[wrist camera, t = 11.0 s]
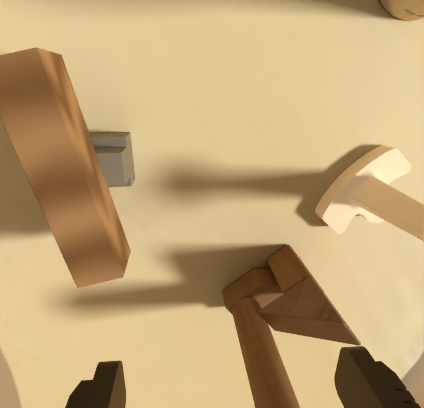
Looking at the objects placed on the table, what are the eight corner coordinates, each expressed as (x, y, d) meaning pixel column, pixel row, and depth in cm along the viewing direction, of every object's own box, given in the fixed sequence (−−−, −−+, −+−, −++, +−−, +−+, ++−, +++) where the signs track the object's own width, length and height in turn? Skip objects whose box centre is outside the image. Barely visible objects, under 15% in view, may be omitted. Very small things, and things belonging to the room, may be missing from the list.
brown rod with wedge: (301, 261, 40) (390, 384, 23) (236, 306, 42) (276, 452, 25) (287, 242, 39) (370, 358, 22) (220, 289, 40) (251, 431, 24)
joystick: (378, 137, 35) (602, 191, 17) (412, 178, 38) (643, 266, 19) (308, 206, 37) (437, 322, 19) (344, 240, 40) (492, 374, 21)
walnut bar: (10, 65, 24) (-26, 60, 19) (61, 54, 24) (36, 47, 20) (91, 260, 30) (77, 288, 26) (130, 251, 30) (123, 277, 26)
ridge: (50, 134, 31) (23, 144, 26) (130, 132, 32) (119, 141, 26) (60, 181, 33) (36, 199, 28) (134, 178, 34) (126, 195, 28)
